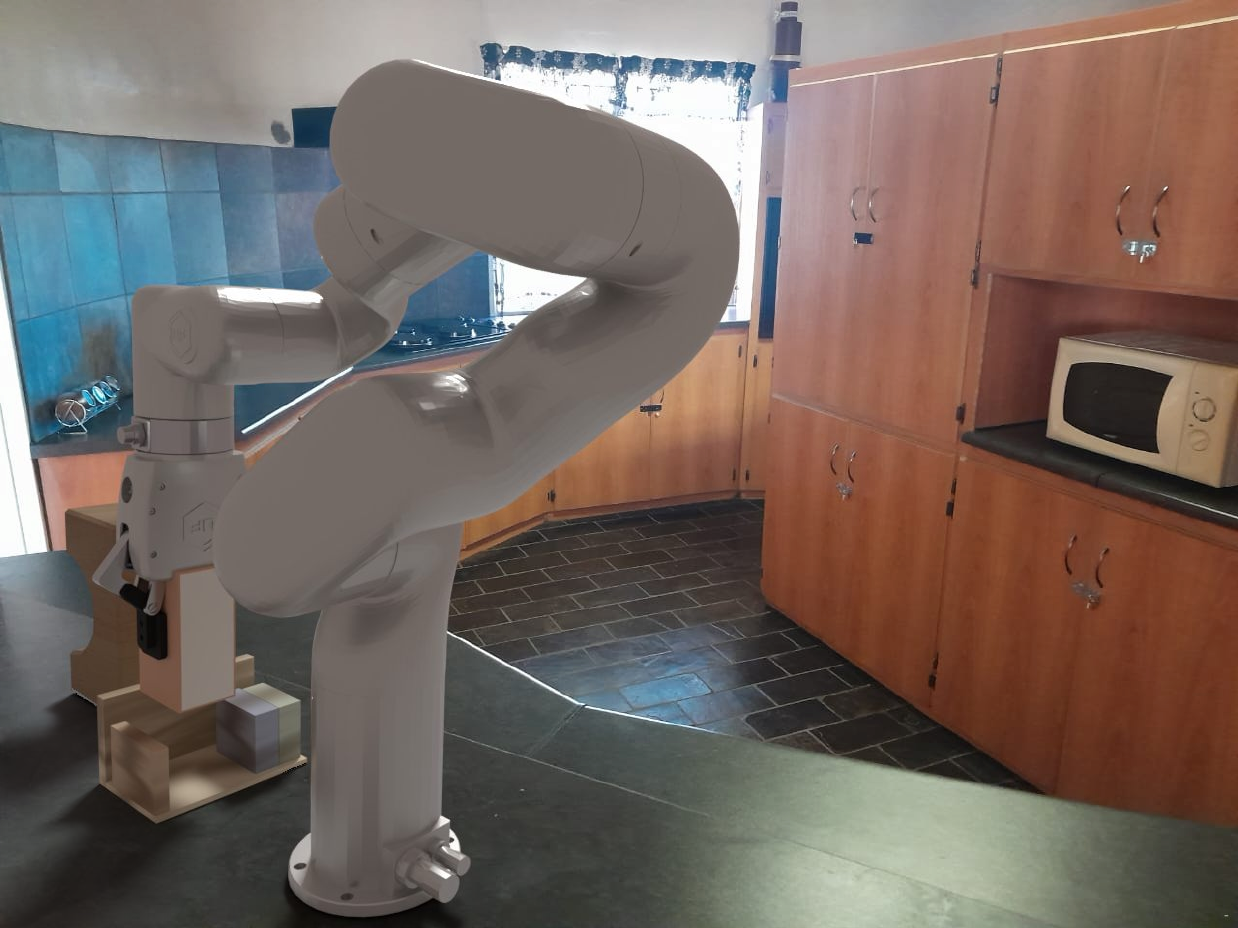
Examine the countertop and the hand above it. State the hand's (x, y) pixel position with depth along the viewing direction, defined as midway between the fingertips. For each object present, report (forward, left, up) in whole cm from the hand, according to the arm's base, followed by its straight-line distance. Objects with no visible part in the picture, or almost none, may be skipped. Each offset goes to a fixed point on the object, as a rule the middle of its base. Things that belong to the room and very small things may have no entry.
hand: (187, 644), depth 79 cm
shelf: (0, -2, -13) cm, 13 cm away
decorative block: (+21, -4, -13) cm, 25 cm away
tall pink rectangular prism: (0, 0, -4) cm, 4 cm away
